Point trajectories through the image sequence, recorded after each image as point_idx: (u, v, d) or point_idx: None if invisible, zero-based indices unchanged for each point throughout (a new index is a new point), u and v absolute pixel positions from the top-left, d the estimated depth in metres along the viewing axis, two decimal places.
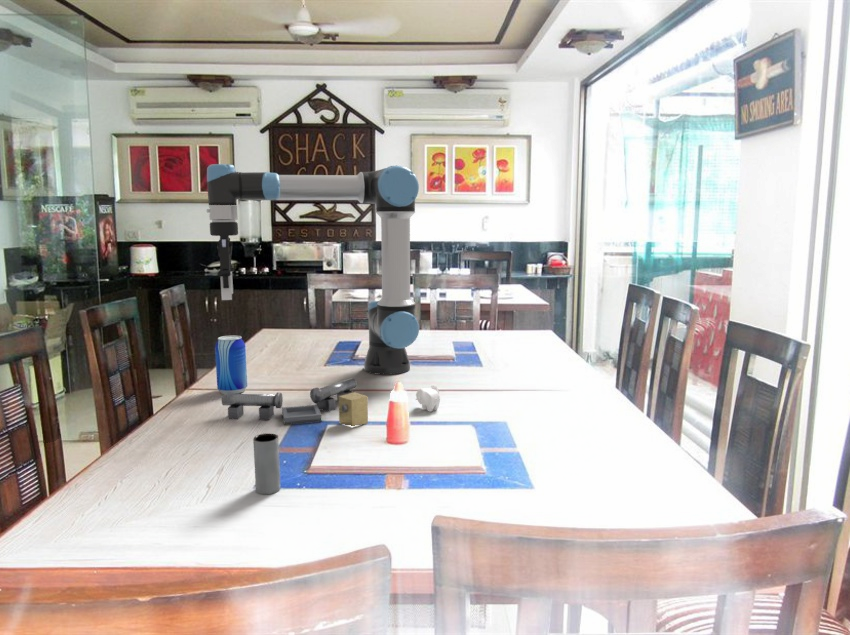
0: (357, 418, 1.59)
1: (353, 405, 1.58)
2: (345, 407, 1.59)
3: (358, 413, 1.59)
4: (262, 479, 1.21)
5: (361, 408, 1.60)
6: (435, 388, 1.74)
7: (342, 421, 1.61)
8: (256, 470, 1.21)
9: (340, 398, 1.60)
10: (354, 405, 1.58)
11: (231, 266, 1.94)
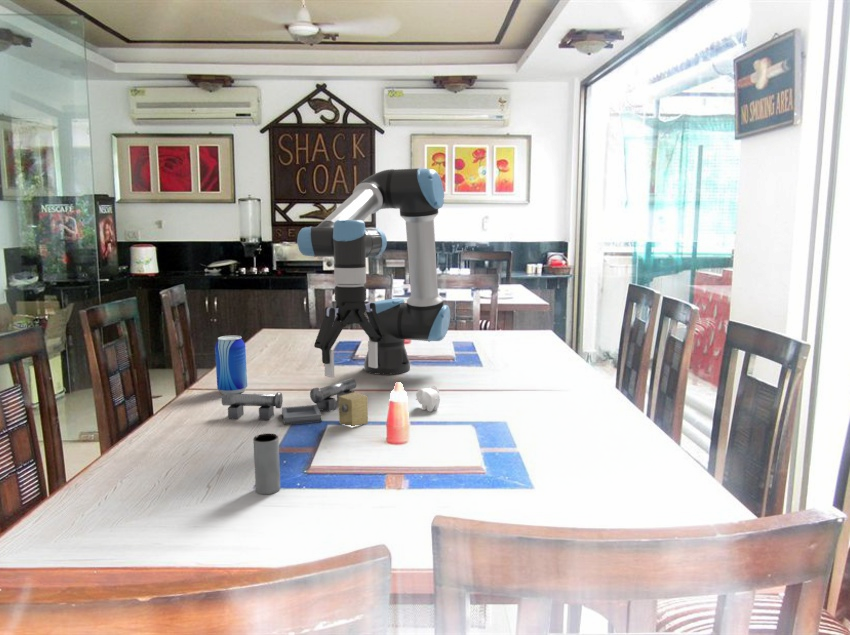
0: (357, 418, 1.59)
1: (353, 405, 1.58)
2: (345, 407, 1.59)
3: (358, 413, 1.59)
4: (262, 479, 1.21)
5: (361, 408, 1.60)
6: (435, 388, 1.74)
7: (342, 421, 1.61)
8: (256, 470, 1.21)
9: (340, 398, 1.60)
10: (354, 405, 1.58)
11: (383, 335, 1.64)
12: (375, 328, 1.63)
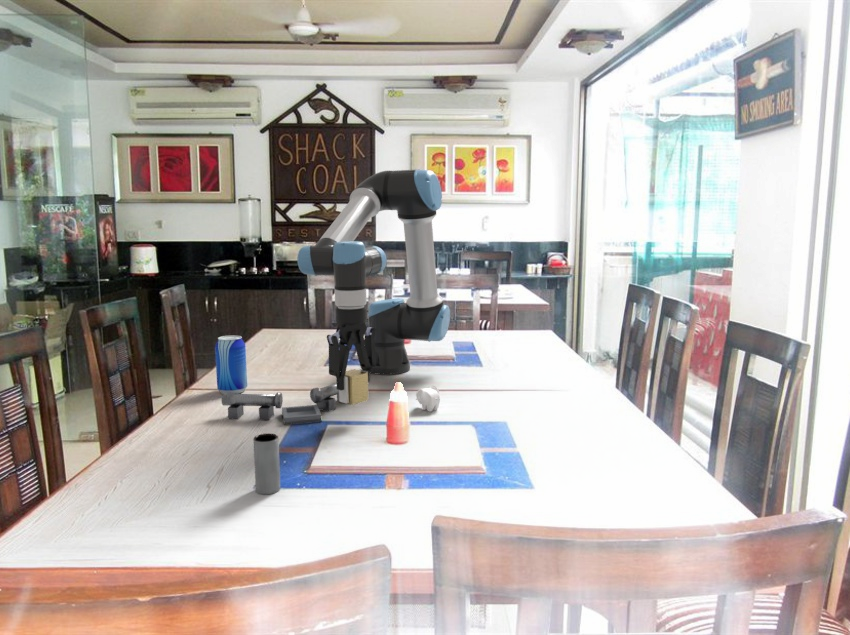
0: (357, 395, 1.59)
1: (353, 382, 1.57)
2: None
3: (358, 389, 1.59)
4: (262, 479, 1.21)
5: (361, 385, 1.59)
6: (435, 388, 1.74)
7: None
8: (256, 470, 1.21)
9: None
10: (354, 382, 1.57)
11: (373, 364, 1.63)
12: (368, 354, 1.63)
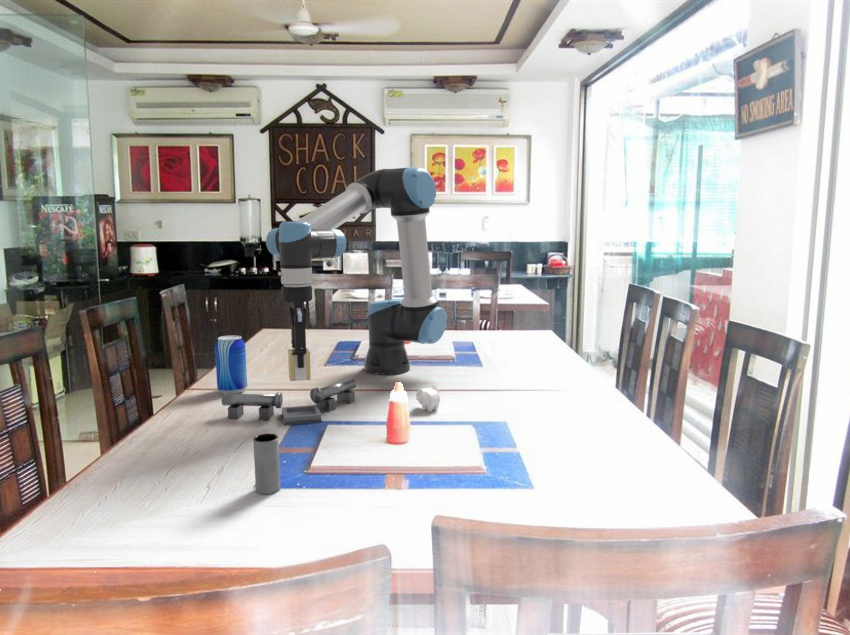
0: None
1: (309, 357, 1.62)
2: None
3: None
4: (262, 479, 1.21)
5: None
6: (435, 388, 1.74)
7: None
8: (256, 470, 1.21)
9: None
10: (309, 357, 1.62)
11: None
12: None
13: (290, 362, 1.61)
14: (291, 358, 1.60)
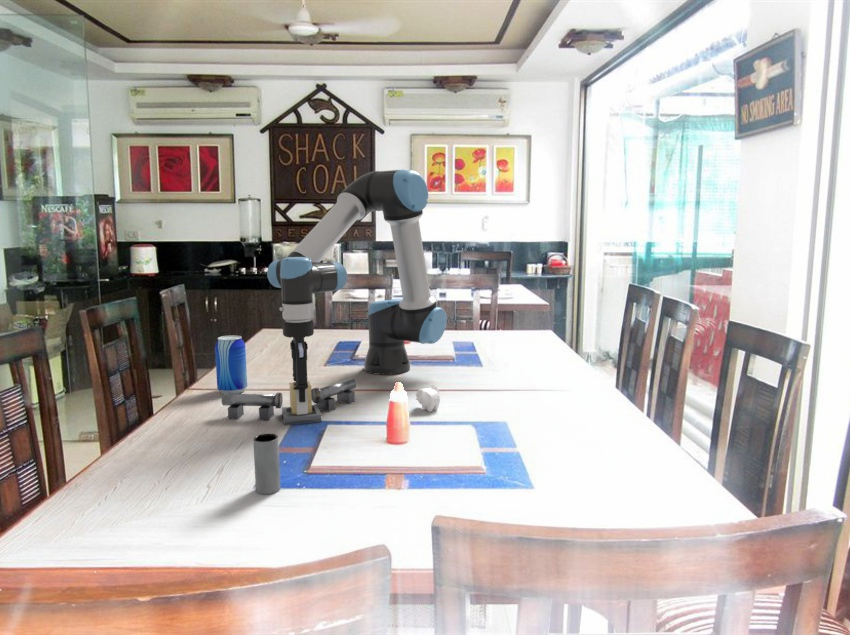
0: None
1: None
2: None
3: None
4: (262, 479, 1.21)
5: None
6: (435, 388, 1.74)
7: None
8: (256, 470, 1.21)
9: (293, 388, 1.62)
10: None
11: None
12: None
13: (292, 396, 1.62)
14: (293, 392, 1.62)
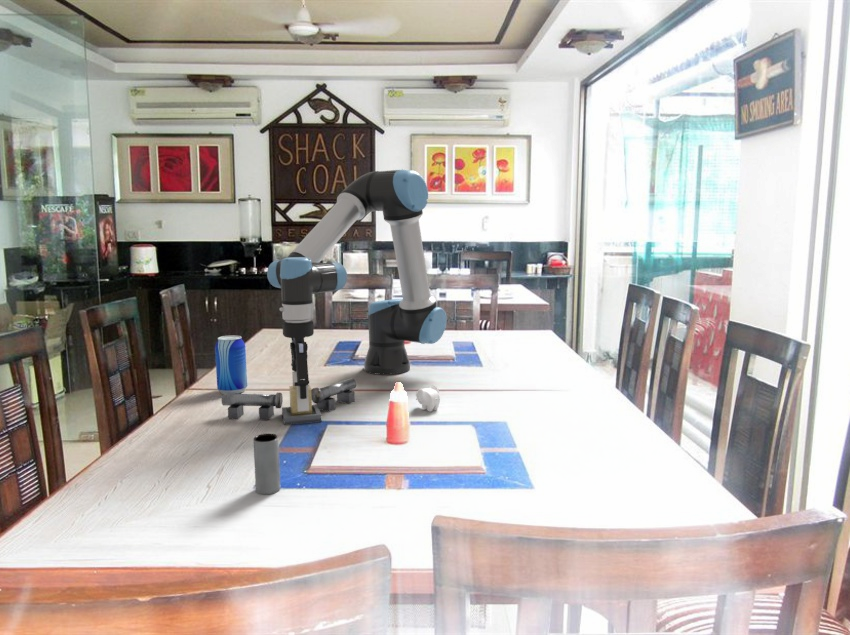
0: None
1: (311, 395, 1.64)
2: None
3: None
4: (262, 479, 1.21)
5: None
6: (435, 388, 1.74)
7: (297, 414, 1.63)
8: (256, 470, 1.21)
9: (294, 392, 1.62)
10: (311, 395, 1.64)
11: None
12: None
13: (292, 400, 1.62)
14: (293, 396, 1.62)
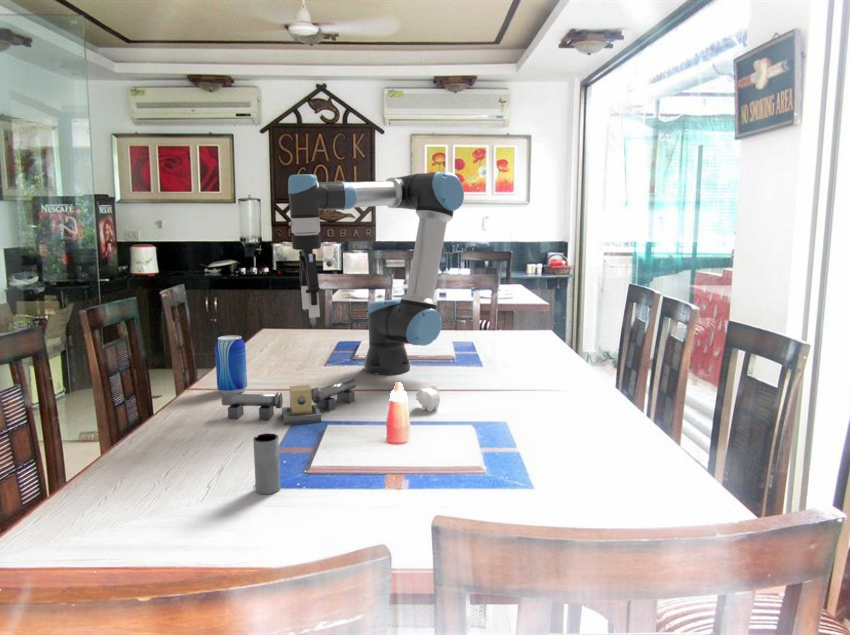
0: None
1: (311, 395, 1.64)
2: (303, 399, 1.63)
3: None
4: (262, 479, 1.21)
5: None
6: (435, 388, 1.74)
7: (297, 414, 1.63)
8: (256, 470, 1.21)
9: (294, 392, 1.62)
10: (311, 395, 1.64)
11: None
12: None
13: (292, 400, 1.62)
14: (293, 396, 1.62)
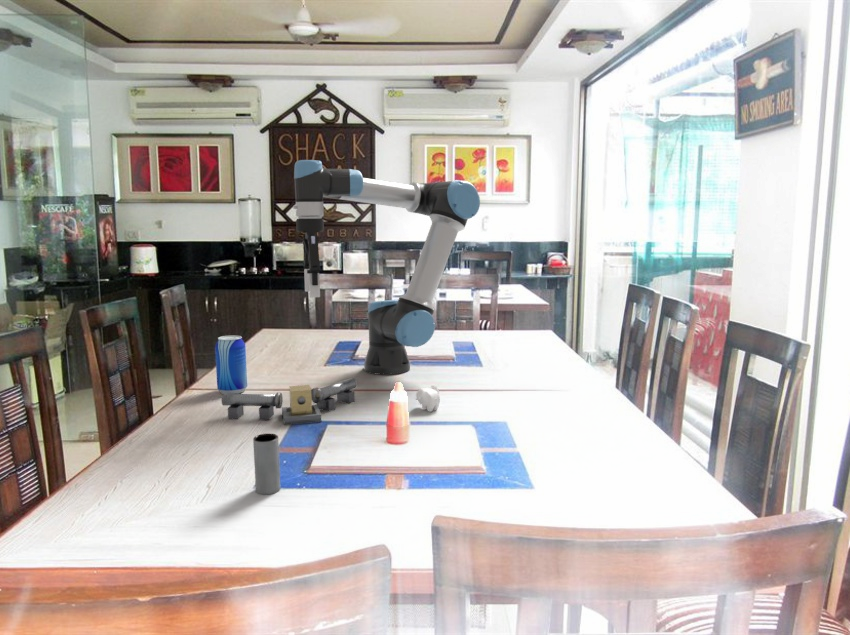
0: None
1: (311, 395, 1.64)
2: (303, 399, 1.63)
3: None
4: (262, 479, 1.21)
5: None
6: (435, 388, 1.74)
7: (297, 414, 1.63)
8: (256, 470, 1.21)
9: (294, 392, 1.62)
10: (311, 395, 1.64)
11: None
12: None
13: (292, 400, 1.62)
14: (293, 396, 1.62)
